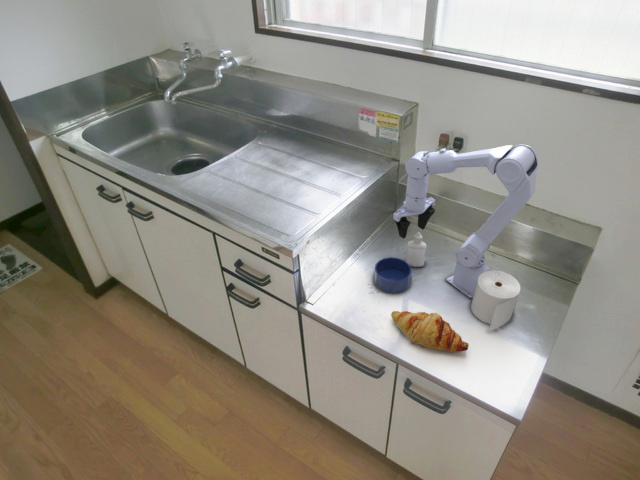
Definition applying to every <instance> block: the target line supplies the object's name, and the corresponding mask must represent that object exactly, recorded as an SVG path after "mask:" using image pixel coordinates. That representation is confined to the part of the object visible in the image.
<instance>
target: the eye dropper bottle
mask: <svg viewBox="0 0 640 480" xmlns="http://www.w3.org/2000/svg"><path fill="white" fill-rule="evenodd" d="M406 246H407V248H406V254H405V255H406V256H405V261H406V262H407V263H408V264H409V265H410V267H413V268H420V267H424V266H425V260H426V253H427V243H426V242H425V241H423V234H421V231H417V232H416V233H415V234H414V235H413V239H412V240H409V241H408V242H407V245H406Z"/></svg>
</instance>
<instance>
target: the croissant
mask: <svg viewBox="0 0 640 480" xmlns="http://www.w3.org/2000/svg"><path fill="white" fill-rule="evenodd" d="M390 317H391V319H392V321H393V322H394V323H395V325H396V327H397V328H398V330H400V332H401V333H402V334H404V336H405V337H407V338H408V339H409V340H410V341H411V342H412V343H413V344H417V345H420V346H422V347H424V348H427V349H430V350H439V351H446V352H451V353H460V352H465V351H467V350H469V346H470V345H469V343H468V342H466V341H464V340H463V339H462V336H461V335H460V334H459V333H457V332H456V331H455V330H454V329H453V328H452V327H451V324H450V323H449V322H448V321H445V320H444V319H443V317H442V316H441V314H440V313H438V312H430V313H428V312H426V311H417V312H411V311H409V310H403V311H399V310H393V311H391V314H390Z"/></svg>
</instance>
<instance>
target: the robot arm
mask: <svg viewBox="0 0 640 480" xmlns="http://www.w3.org/2000/svg"><path fill="white" fill-rule="evenodd" d="M539 165H540V162H539V159H538V156H537V153H536V151H535V150H534V148H533V147H531V146H530V145H528V144H523V143H522V144H521V143H520V144H517V145H515V146H514V144H507V145H502V146H498V147H493V148H486V149H479V150H474V151H468V152H462V153H457V152H456V151H454V150H453V149H447V148H445V147H443V148H441V149H440V150H439V151H431V152H429V151H428V150H426V151H425V150H424V151H423V150H420V151H418V152H417V153H415V154H414V155H413V156H411V157H410V158H409V159H408V160H407V161H406V163H405V165H404V168H405V172H406V174H407V180H406V181H407V182H406V189H405V200H404V201H403V202H402V204H403V205H402V206H401V207H400V208H399V209H398V210H396V211H395V212H394V213H393V214H392V219H393V220H394V224H395V225H396V228H397V231H398V236H399V237H400V238H402V239H406V238H407V234H408V229H409V227H410V225H411V223H412V222H411V221H409V220H408V218H407V217H411V216H412V217H413V216H417V227H418V228H420V229H421V230H425V228H426V226H427V224H428V223H429V220H430V219H431V217H432V216H433V215H434V214H435V212H436V209H435V208H434V207H435V205H436V199H434V198H433V197H428V198H427V196H428V189H429V181H430V180H429V179H430V175H439V174H452V173H454V172H455V171H456V170H457V169H458V168H484V167H485V168H486V169H487V170H488V171H489V172H490V174H491V175H495V174H496V176H497V178H498V179H499V181H500V182H501V183H502V185H503V186H504V188H505V189H506V190H507V191H508V195H507V196H506V197H505V198H504V200H502V202H501V203H500V204H499V205H498V207H497V208H496V209H495V210H494V211H493V212H492V214H491V215H490V216H489V217H488V218H487V220H485V222H484V223H483V224H482V226H480V228H479V229H478V230H477V231H475V232H472V233H470V234H469V235H468V238H467V239H466V240H465V241H464V243H462V245H461V246H460V247H459V248H458V249H457V250H456V252H455V258H456V264H455V268H454V272H453V274H452V275H451V276H449V277H447V278H446V282H448V283H449V284H450V285H452V286H453V287H454V288H455V289H457V290H458V291H459V292H461V293H462V294H463V295H465V296H466V297H468V298H469V299H473V296H474V292H475V289H476V284H477V280H478V278H479V276H480V275H481V274H482V273H484V272H486V271H492V269H490V267H488V265H487V264H486V262H485V253H487V251H488V250H489V249H490V248H491V243H493V241H494V240H495V239H496V238H497V236H498V235H499V234H500V233H501V232H502V231H503V230H504V229H505V228H506V227H507V225H508V224H510V222H511V221H512V220H513V218H515V216H516V215H517V214H518V213H519V212H520V211H521V210H522V209H523V208H524V206H526V204H527V203H528V202H529V201H530V200H531V198H532V197H533V196H534V194H535V191H536V183H537V173H538V168H539Z"/></svg>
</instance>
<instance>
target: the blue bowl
mask: <svg viewBox="0 0 640 480" xmlns="http://www.w3.org/2000/svg"><path fill="white" fill-rule="evenodd" d="M412 270H413V269H412V266H410V265H409V264H408V263H407V262H406V259H402V258H399V257H393V256H388V257H383V258H381V259H379V260H378V261H377V262H376V263H375V265H374V272H373V273H374V274H373V283H374V285H375V286H376V288H378V290H380V291H382V292H384V293H387V294H399V293H404V292H405V291H407V290H408V288H409V287H410V285H411V281H412V279H411V278H412Z"/></svg>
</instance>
